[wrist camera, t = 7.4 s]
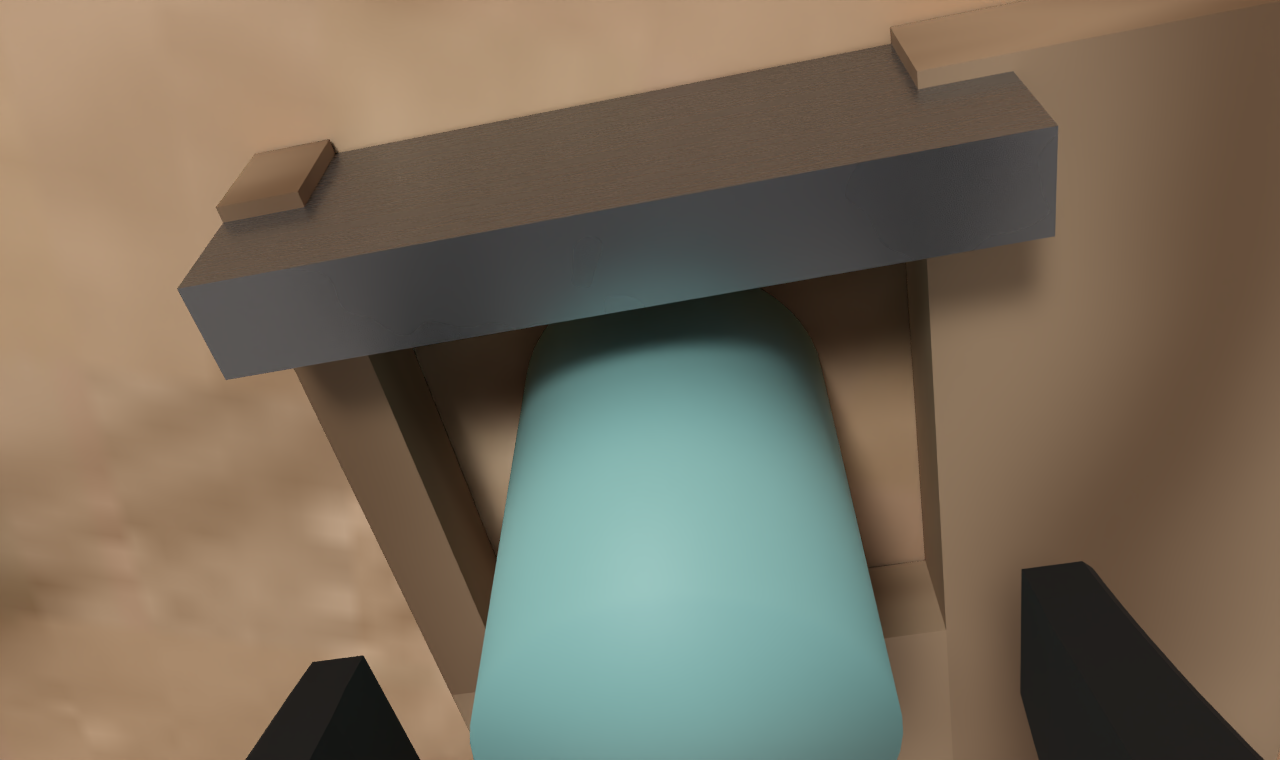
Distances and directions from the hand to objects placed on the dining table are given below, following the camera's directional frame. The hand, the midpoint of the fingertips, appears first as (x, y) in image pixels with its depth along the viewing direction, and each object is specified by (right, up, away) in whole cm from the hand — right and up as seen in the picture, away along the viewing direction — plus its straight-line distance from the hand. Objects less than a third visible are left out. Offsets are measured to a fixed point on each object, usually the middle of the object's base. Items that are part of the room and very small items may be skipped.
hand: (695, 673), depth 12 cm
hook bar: (-1, +6, +2) cm, 7 cm away
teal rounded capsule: (0, +3, +4) cm, 5 cm away
